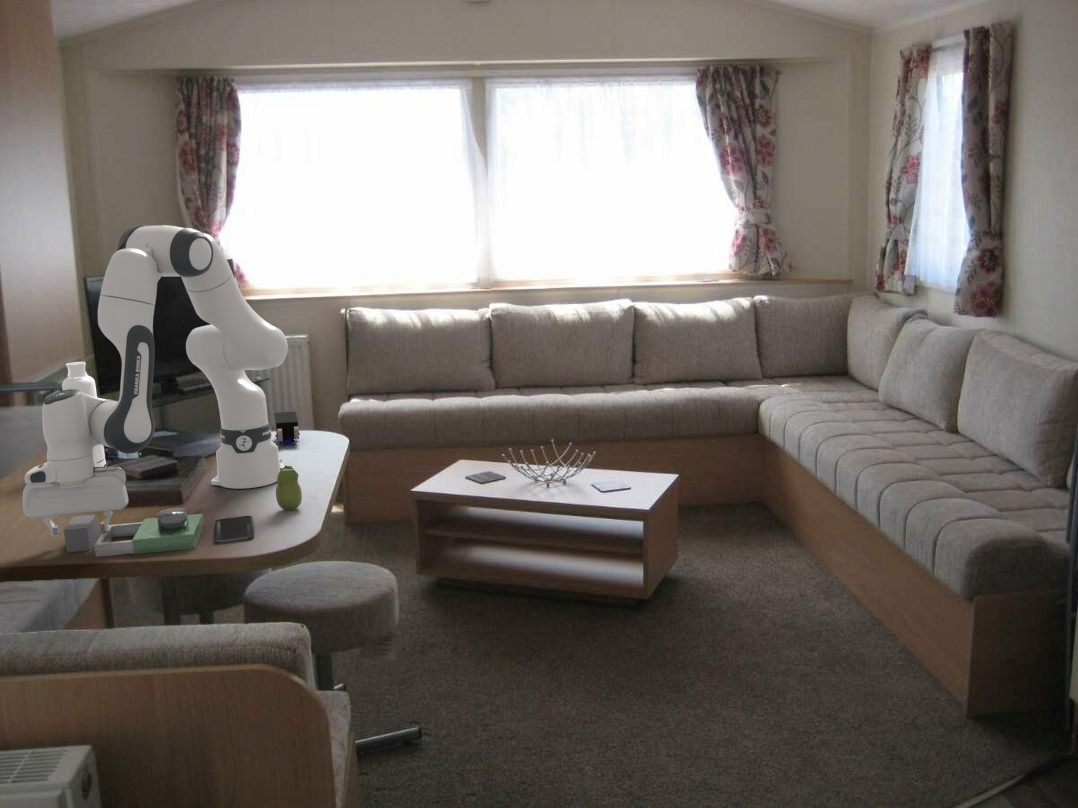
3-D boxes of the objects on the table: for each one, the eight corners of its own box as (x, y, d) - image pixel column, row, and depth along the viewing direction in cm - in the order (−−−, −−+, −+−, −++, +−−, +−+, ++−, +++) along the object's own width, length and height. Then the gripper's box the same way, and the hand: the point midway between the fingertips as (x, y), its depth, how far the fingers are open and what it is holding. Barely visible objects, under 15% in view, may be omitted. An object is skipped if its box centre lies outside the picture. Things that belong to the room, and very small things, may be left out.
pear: (300, 504, 254) (296, 461, 252) (305, 510, 250) (301, 467, 248) (275, 508, 252) (271, 465, 250) (280, 515, 247) (275, 471, 245)
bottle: (70, 467, 297) (56, 363, 291) (102, 461, 301) (88, 359, 295) (77, 473, 290) (62, 367, 284) (109, 467, 295) (95, 363, 289)
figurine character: (303, 451, 309) (298, 433, 322) (300, 425, 306) (296, 408, 320) (278, 454, 307) (274, 435, 321) (275, 428, 304) (271, 410, 318)
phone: (214, 541, 230) (215, 519, 244) (215, 546, 230) (216, 524, 244) (254, 536, 232) (252, 514, 246) (254, 541, 232) (253, 519, 246)
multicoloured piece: (109, 535, 239) (106, 508, 237) (203, 526, 242) (200, 500, 240) (95, 557, 225) (91, 529, 224) (195, 548, 228) (191, 520, 227)
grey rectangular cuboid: (77, 538, 238) (74, 516, 237) (99, 536, 239) (96, 514, 238) (67, 552, 229) (63, 529, 228) (89, 550, 230) (86, 527, 229)
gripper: (127, 461, 235) (135, 523, 238) (24, 469, 232) (33, 532, 235) (121, 468, 229) (129, 532, 232) (15, 477, 226) (25, 542, 229)
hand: (80, 532), depth 233 cm, fingers open, 8 cm apart
